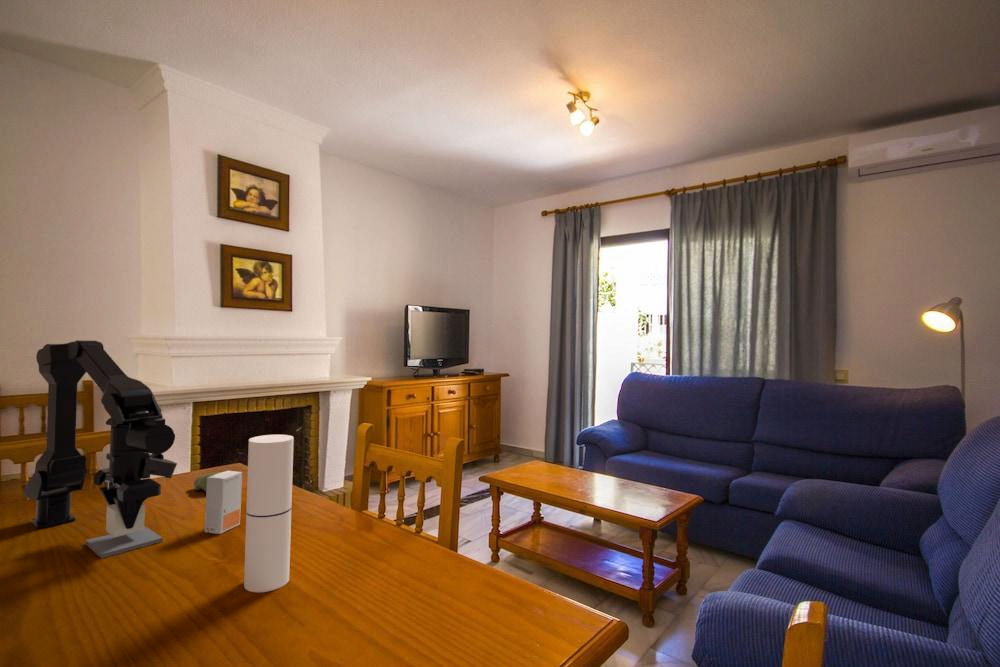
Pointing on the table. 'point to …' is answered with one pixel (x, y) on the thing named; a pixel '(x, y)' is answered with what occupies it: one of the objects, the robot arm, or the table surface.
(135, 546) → the mat
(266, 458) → the cylindrical container
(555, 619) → the table surface
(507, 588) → the table surface
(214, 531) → the skincare box
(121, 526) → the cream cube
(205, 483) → the pear
